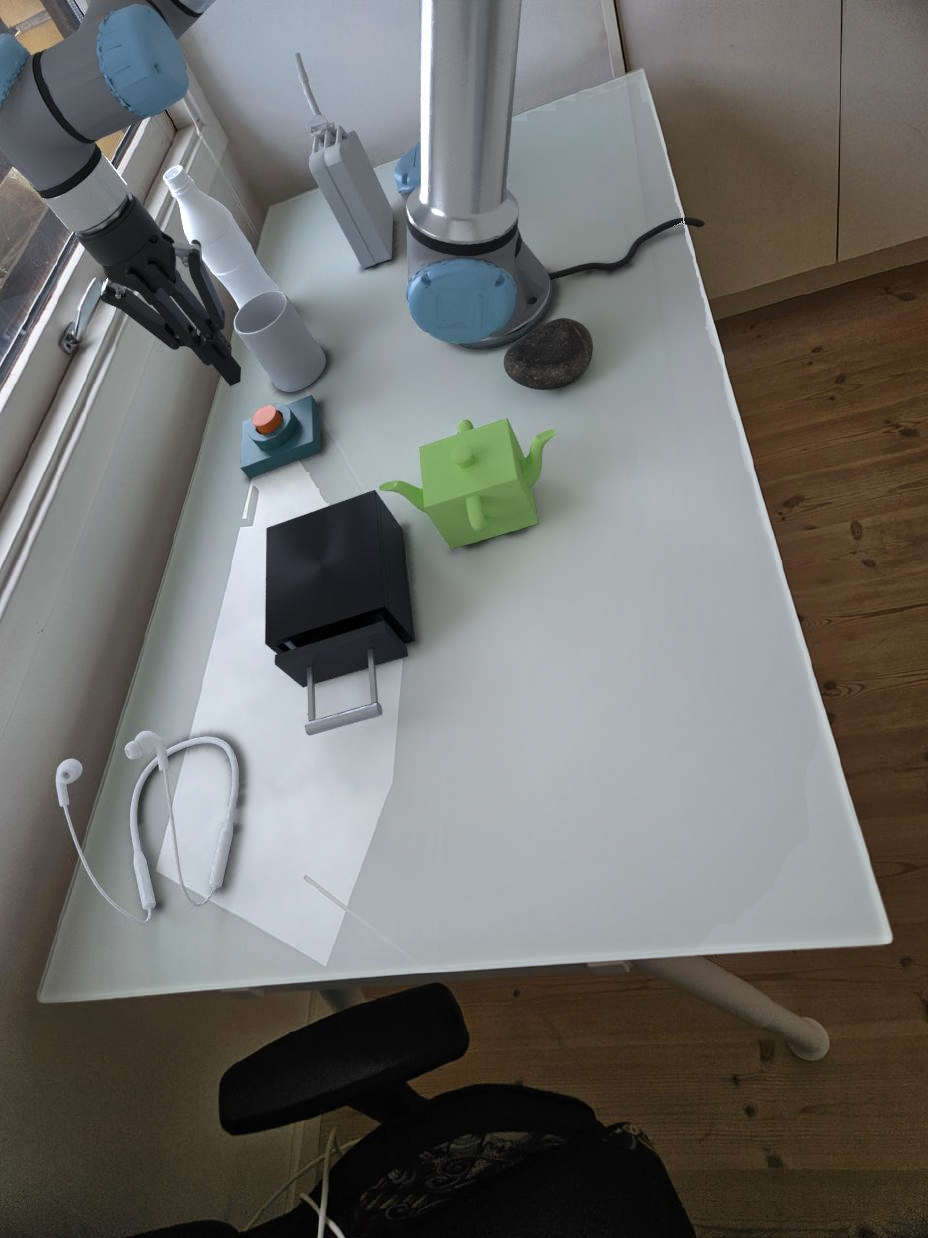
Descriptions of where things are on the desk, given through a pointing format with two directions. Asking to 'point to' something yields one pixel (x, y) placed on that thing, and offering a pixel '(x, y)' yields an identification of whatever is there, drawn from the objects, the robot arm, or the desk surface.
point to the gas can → (349, 184)
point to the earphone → (144, 746)
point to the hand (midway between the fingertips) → (235, 376)
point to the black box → (336, 571)
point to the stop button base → (282, 438)
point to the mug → (280, 341)
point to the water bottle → (218, 239)
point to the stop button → (267, 419)
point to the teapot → (477, 482)
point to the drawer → (342, 664)
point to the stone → (550, 355)
